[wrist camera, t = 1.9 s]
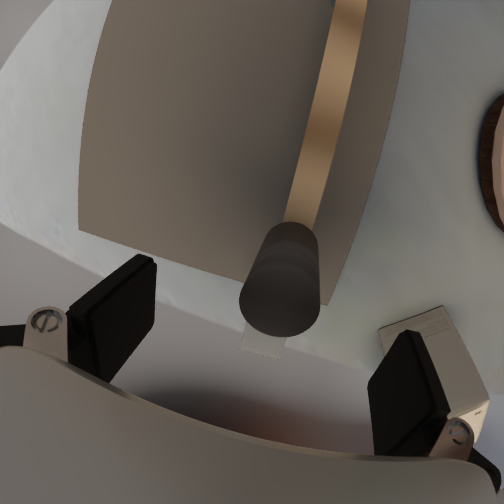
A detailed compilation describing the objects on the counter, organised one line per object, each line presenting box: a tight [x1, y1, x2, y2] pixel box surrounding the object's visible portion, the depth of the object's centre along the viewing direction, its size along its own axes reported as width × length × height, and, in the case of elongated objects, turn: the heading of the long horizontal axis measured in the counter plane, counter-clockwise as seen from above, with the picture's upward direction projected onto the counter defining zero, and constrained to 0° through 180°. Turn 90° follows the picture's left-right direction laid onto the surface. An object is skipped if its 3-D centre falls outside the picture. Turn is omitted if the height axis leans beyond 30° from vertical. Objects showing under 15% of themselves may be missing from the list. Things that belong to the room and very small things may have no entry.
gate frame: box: [239, 0, 368, 360], centre depth 14 cm, size 26×3×13 cm, turn 168°
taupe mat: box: [78, 0, 410, 306], centre depth 20 cm, size 30×27×1 cm
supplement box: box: [379, 306, 490, 442], centre depth 20 cm, size 7×7×13 cm
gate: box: [239, 0, 367, 337], centre depth 13 cm, size 20×3×13 cm, turn 168°
